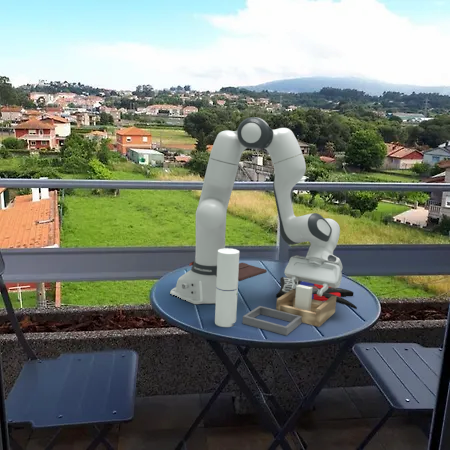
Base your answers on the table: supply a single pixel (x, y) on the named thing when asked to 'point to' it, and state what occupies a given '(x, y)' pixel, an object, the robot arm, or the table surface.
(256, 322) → the charcoal tray
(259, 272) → the notebook
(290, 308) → the tray
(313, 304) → the offcut top
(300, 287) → the white upright pillar
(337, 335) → the table surface
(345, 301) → the black red irregular piece
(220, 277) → the cylindrical container
